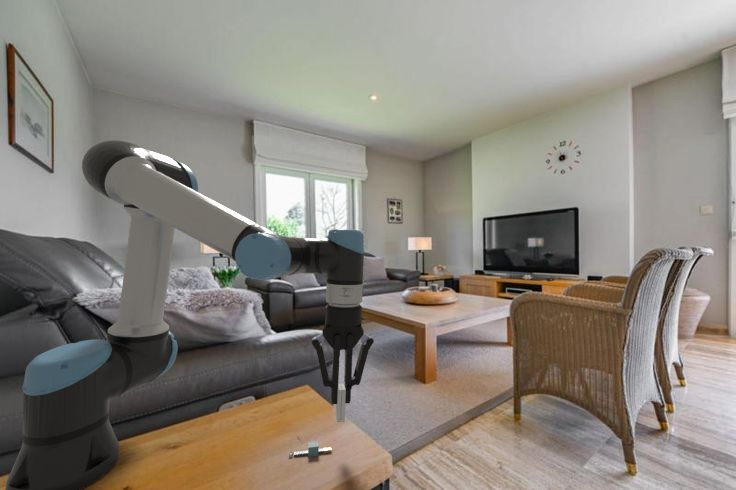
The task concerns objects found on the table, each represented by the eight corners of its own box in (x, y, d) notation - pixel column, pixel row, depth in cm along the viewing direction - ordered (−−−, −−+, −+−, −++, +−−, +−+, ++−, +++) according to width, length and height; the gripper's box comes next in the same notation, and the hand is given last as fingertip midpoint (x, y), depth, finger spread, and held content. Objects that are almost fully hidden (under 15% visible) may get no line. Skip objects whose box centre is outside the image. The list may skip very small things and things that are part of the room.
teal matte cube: (308, 463, 60) (308, 447, 61) (308, 457, 62) (308, 442, 62) (318, 462, 61) (318, 446, 61) (318, 456, 63) (318, 441, 63)
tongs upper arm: (289, 459, 60) (289, 455, 60) (289, 455, 61) (289, 452, 61) (331, 453, 62) (331, 450, 62) (331, 450, 63) (331, 446, 63)
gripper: (311, 307, 58) (307, 431, 58) (378, 307, 61) (375, 426, 60) (311, 300, 66) (307, 411, 65) (371, 300, 68) (368, 407, 68)
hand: (340, 418), depth 63 cm, fingers closed
